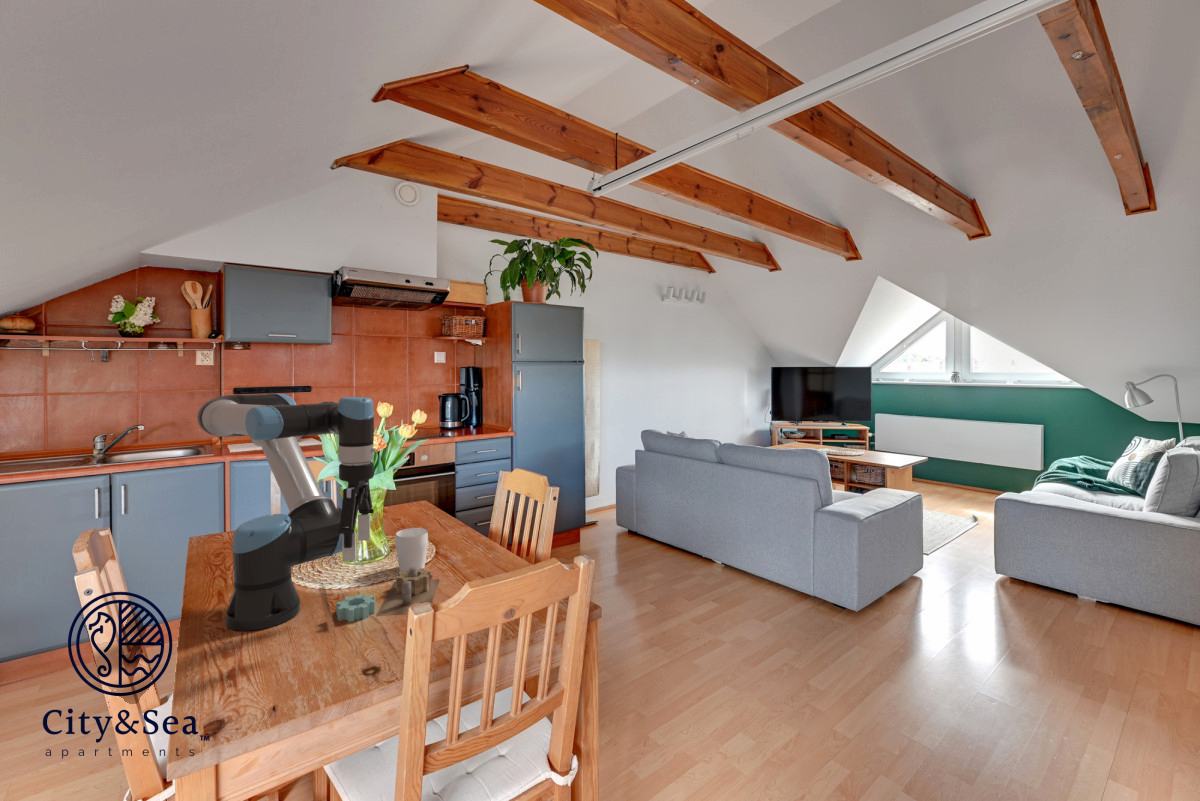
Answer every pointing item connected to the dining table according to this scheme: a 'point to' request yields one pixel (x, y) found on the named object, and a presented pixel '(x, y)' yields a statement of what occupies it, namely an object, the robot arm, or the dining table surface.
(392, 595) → the gear board
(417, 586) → the gear
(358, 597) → the gear
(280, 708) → the dining table surface
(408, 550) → the cup
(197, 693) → the dining table surface
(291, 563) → the robot arm
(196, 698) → the dining table surface
